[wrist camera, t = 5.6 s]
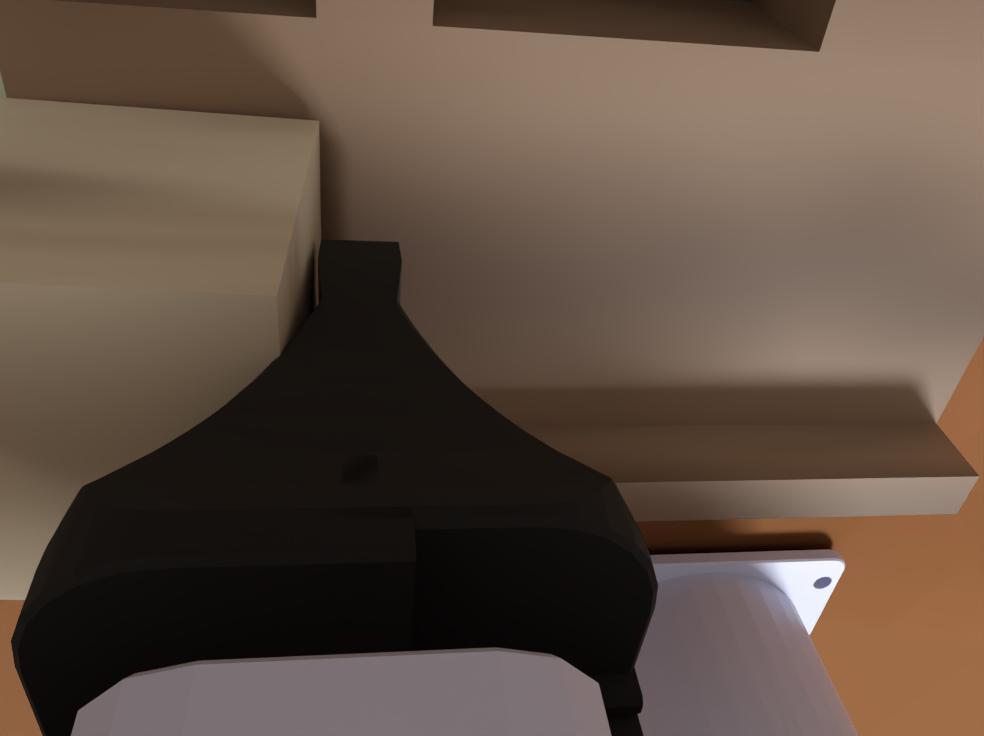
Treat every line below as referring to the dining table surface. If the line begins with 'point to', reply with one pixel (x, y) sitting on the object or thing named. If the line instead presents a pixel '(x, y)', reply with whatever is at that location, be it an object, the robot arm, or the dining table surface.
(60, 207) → the maple block
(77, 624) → the robot arm
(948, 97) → the trap box
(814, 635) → the dining table surface
